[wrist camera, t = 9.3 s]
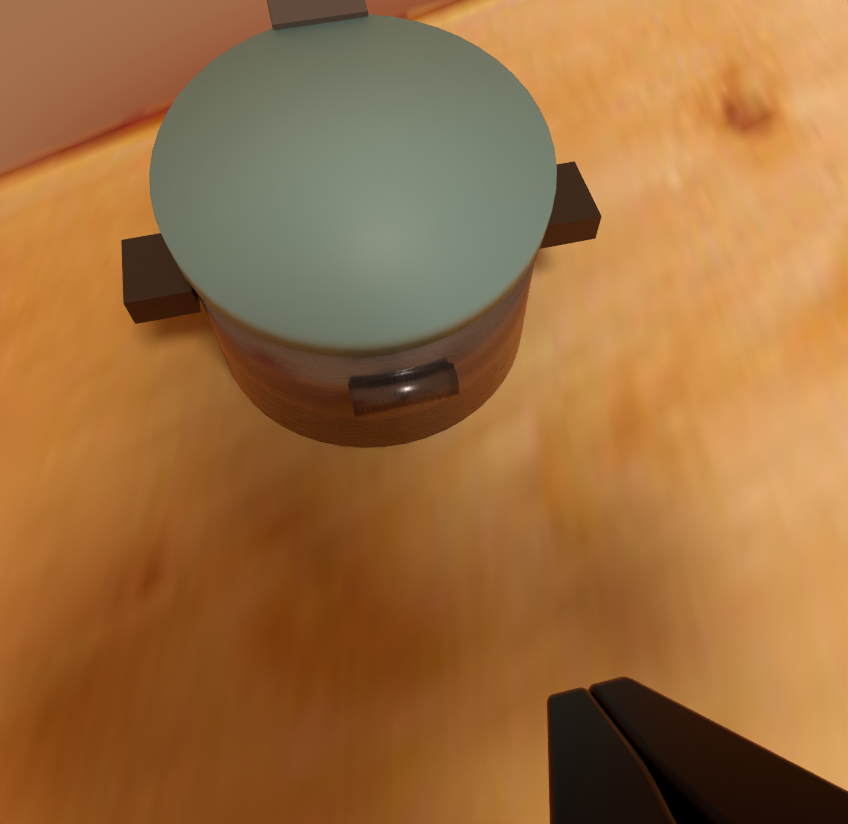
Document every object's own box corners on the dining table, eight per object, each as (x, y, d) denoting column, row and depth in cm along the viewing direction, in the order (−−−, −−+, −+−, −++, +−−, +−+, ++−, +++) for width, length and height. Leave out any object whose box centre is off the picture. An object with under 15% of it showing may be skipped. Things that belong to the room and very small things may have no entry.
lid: (601, 312, 20) (613, 289, 19) (182, 395, 19) (168, 375, 18) (465, -56, 26) (468, -91, 25) (134, -10, 25) (121, -45, 24)
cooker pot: (626, 420, 25) (668, 332, 20) (180, 516, 23) (121, 443, 19) (523, 180, 31) (538, 71, 26) (160, 243, 29) (112, 139, 25)
